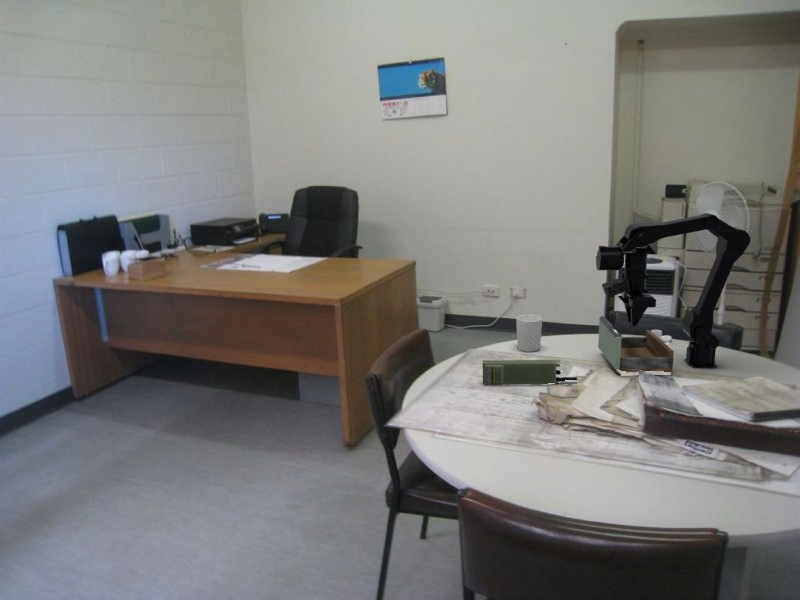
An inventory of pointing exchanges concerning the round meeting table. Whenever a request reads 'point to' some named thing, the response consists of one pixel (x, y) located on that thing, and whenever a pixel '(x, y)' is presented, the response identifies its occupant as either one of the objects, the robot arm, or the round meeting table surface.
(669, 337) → the teacup and saucer
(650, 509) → the round meeting table surface
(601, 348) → the panel
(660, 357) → the brown and grey drawer
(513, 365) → the handheld radio
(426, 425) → the round meeting table surface
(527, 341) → the white cup
